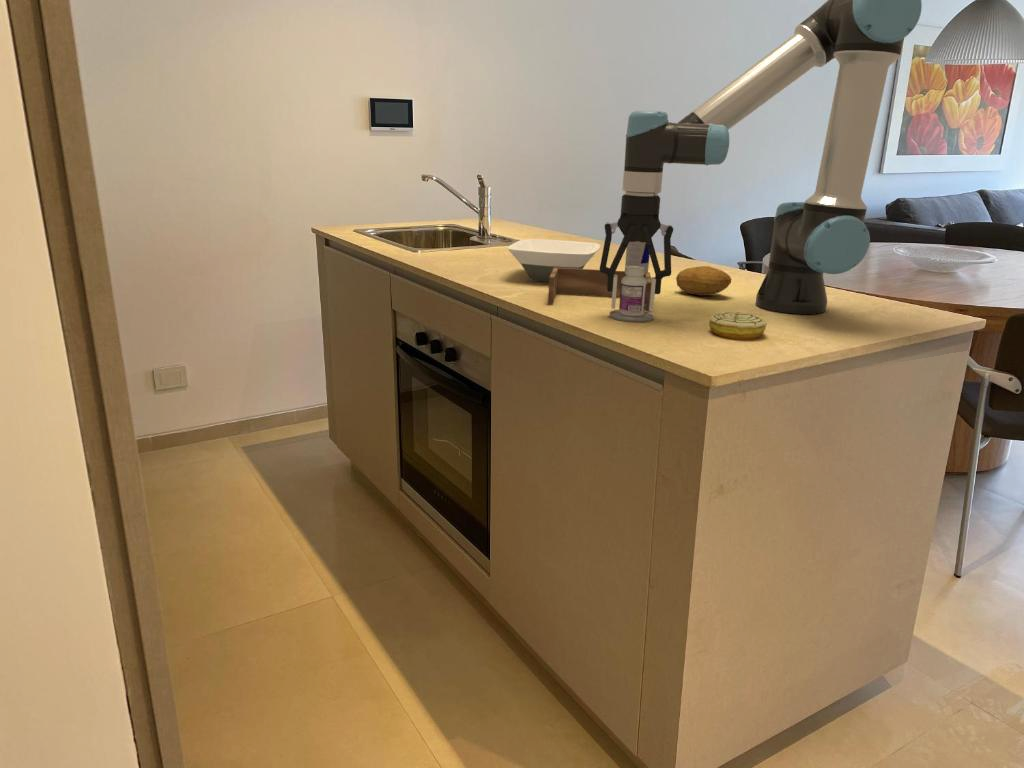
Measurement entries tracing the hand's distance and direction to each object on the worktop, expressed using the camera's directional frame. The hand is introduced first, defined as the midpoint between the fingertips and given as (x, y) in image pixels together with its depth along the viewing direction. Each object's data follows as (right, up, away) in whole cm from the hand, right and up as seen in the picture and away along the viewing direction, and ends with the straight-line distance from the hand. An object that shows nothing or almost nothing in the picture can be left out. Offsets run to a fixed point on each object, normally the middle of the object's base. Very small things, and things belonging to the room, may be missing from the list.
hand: (632, 308), depth 159 cm
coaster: (0, -2, +1) cm, 2 cm away
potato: (+21, +5, +26) cm, 33 cm away
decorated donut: (+19, -6, -10) cm, 22 cm away
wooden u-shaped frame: (-5, +3, +14) cm, 15 cm away
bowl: (-14, +11, +40) cm, 44 cm away
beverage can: (+5, +8, +30) cm, 32 cm away
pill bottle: (0, -1, 0) cm, 1 cm away
